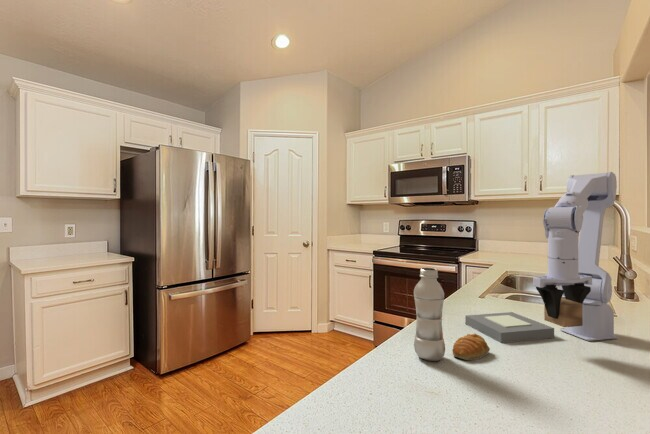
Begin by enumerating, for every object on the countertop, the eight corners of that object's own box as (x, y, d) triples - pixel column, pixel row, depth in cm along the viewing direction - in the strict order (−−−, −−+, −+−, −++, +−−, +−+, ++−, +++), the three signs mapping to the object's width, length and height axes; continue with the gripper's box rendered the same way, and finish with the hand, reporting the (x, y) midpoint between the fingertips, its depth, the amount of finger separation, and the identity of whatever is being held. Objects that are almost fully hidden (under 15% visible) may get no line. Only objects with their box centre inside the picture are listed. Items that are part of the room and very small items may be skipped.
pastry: (474, 366, 66) (474, 348, 66) (444, 356, 71) (444, 339, 71) (491, 353, 73) (491, 337, 73) (462, 344, 78) (462, 329, 78)
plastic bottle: (442, 367, 65) (441, 272, 65) (410, 360, 69) (409, 269, 69) (448, 356, 71) (447, 268, 71) (418, 349, 74) (417, 265, 74)
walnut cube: (561, 318, 75) (561, 298, 75) (582, 325, 70) (582, 303, 70) (544, 320, 74) (544, 299, 74) (564, 327, 69) (564, 305, 69)
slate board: (512, 320, 95) (512, 311, 95) (554, 337, 81) (554, 327, 81) (465, 323, 92) (465, 314, 92) (501, 342, 78) (500, 331, 78)
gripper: (571, 255, 78) (571, 309, 78) (522, 256, 75) (522, 313, 75) (601, 258, 71) (601, 318, 71) (548, 261, 68) (548, 323, 68)
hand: (562, 316), depth 72 cm, fingers closed on walnut cube, 5 cm apart
